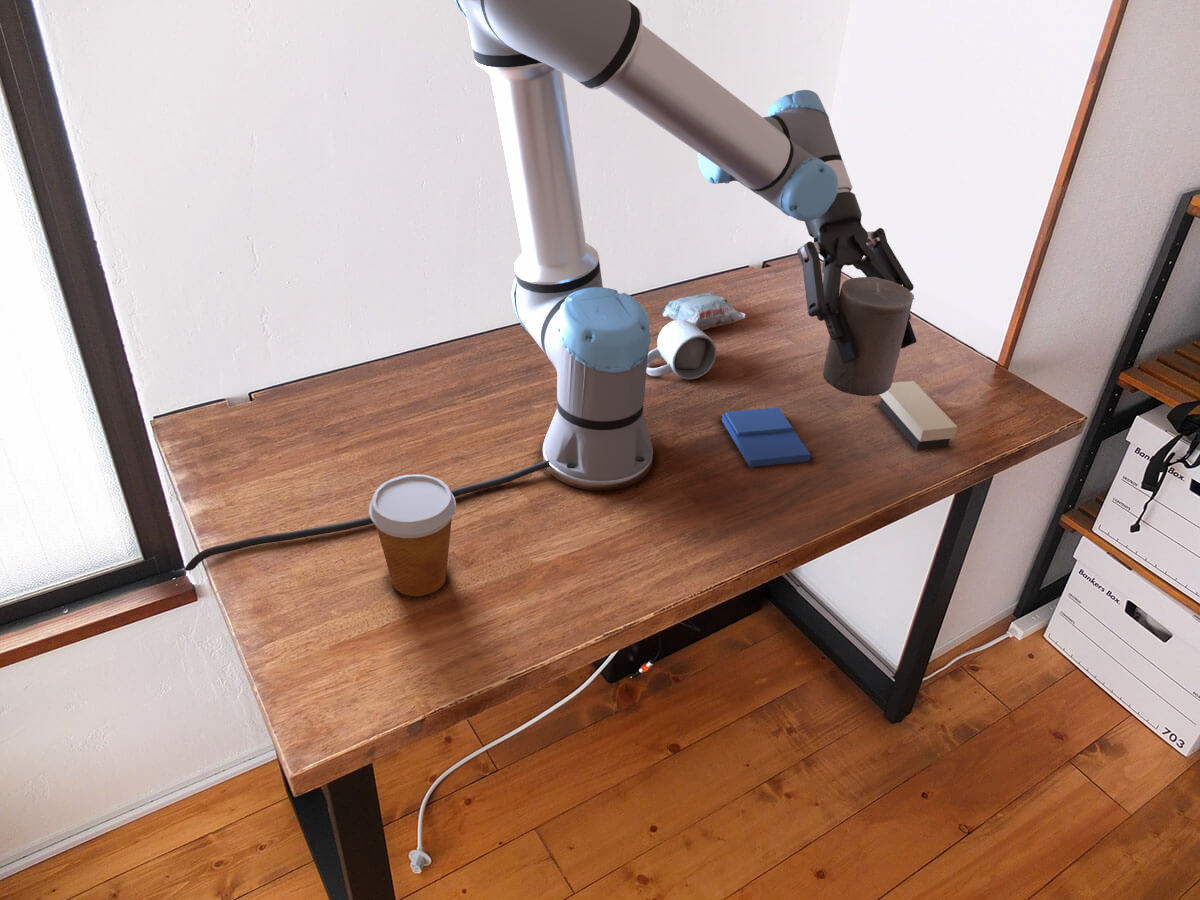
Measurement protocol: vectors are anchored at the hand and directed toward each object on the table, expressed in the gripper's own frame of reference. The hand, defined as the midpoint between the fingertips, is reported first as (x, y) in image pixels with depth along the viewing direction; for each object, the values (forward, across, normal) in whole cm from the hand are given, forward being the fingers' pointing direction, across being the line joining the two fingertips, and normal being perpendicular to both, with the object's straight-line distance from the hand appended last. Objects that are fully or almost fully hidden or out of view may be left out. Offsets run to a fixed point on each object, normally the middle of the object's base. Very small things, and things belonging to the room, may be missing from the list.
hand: (880, 352), depth 130 cm
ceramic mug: (-10, +14, -31) cm, 35 cm away
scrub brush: (+11, -10, -11) cm, 18 cm away
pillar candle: (+2, 0, -6) cm, 7 cm away
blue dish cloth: (+6, +12, -15) cm, 20 cm away
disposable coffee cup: (+11, +67, -10) cm, 69 cm away
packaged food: (-18, +1, -39) cm, 43 cm away
